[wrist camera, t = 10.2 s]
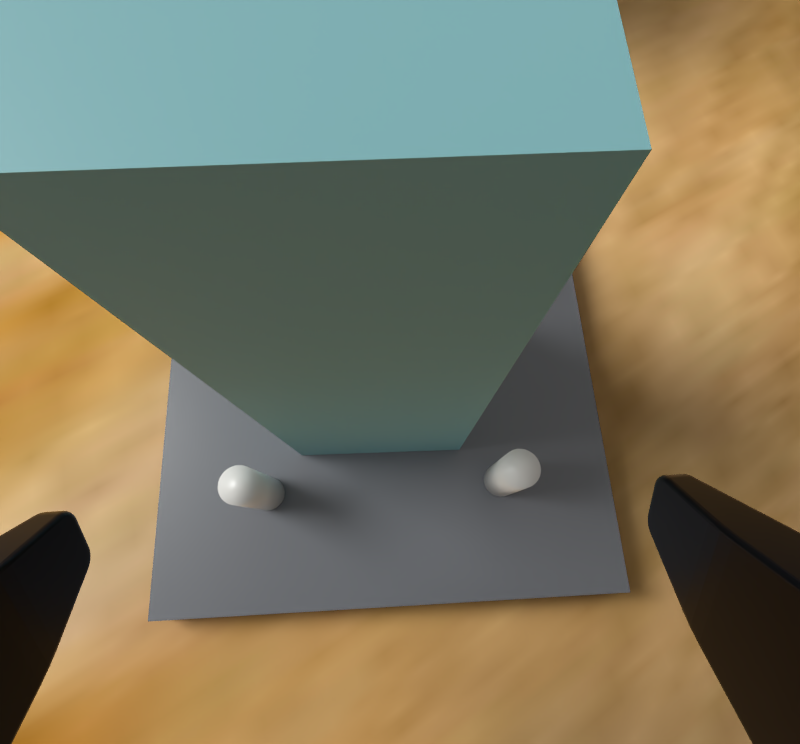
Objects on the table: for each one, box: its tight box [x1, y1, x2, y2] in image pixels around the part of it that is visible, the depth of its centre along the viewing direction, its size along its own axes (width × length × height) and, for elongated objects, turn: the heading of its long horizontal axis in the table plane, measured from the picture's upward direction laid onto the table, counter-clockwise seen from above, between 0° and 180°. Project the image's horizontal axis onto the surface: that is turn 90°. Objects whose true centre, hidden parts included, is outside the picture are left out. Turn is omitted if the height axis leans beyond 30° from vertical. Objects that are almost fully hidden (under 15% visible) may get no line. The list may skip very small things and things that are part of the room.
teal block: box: [0, 0, 652, 455], centre depth 10 cm, size 5×5×13 cm
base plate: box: [148, 274, 630, 621], centre depth 16 cm, size 14×14×4 cm
